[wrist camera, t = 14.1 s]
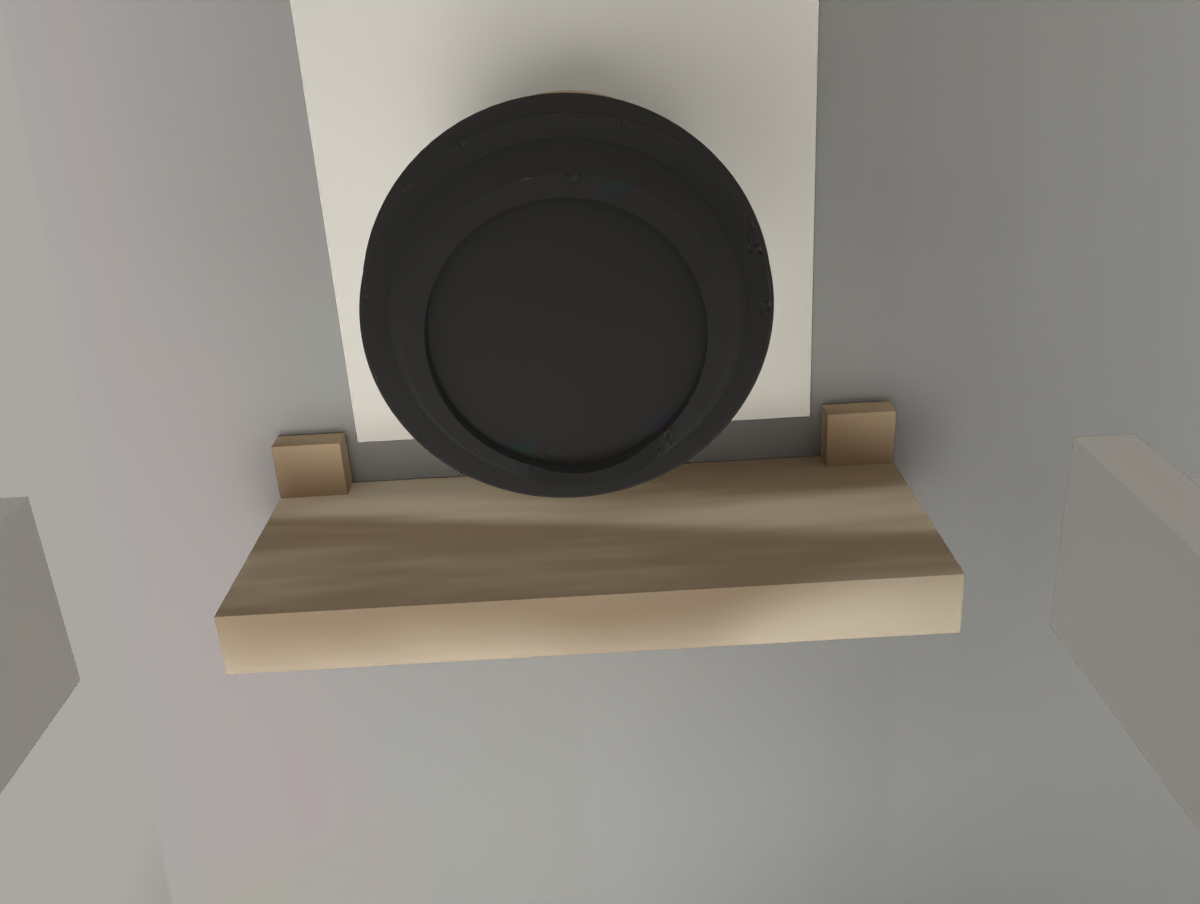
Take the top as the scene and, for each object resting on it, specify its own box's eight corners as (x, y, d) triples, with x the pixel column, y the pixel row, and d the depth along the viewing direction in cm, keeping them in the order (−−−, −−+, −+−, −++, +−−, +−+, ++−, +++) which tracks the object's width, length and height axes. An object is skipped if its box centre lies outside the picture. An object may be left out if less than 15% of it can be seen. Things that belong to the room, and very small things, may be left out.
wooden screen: (881, 548, 42) (955, 687, 34) (305, 581, 42) (239, 728, 34) (888, 400, 40) (970, 512, 32) (278, 436, 40) (200, 557, 32)
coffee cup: (396, 87, 35) (278, 163, 21) (682, 23, 34) (756, 58, 20) (469, 357, 38) (410, 576, 24) (729, 303, 38) (819, 496, 24)
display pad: (805, 408, 40) (809, 416, 39) (361, 433, 40) (357, 442, 39) (815, -85, 34) (820, -87, 33) (288, -54, 34) (281, -54, 33)
